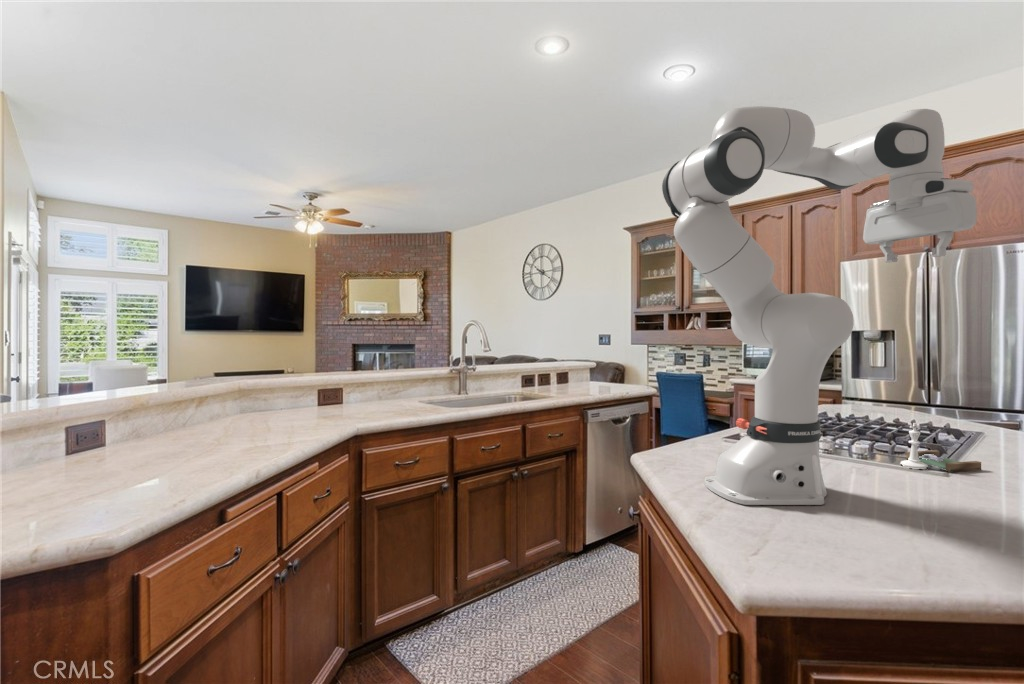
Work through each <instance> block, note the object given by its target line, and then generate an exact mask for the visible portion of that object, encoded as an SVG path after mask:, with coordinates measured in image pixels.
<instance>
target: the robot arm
mask: <svg viewBox="0 0 1024 684" xmlns="http://www.w3.org/2000/svg"><path fill="white" fill-rule="evenodd" d="M813 122H814V121H812V119H811V117H810V116H809V115H808V114H806V113H804V112H802V111H799V110H796V109H791V108H785V107H776V106H762V105H761V106H745V107H736V108H732V109H729V110H728V111H726V112H724V113H723V114H722V115H721V116H720V117H719V118H718V120H717V121H716V123H715V125H714V127H713V129H712V132H711V139H710V142H708V143H707V144H704V145H703V146H701V147H698V148H696V149H694V150H692V151H691V152H689V153H688V154H687V155H685V156H684V157H682V159H680V160H679V161H677V162H676V163H674V164H673V165H672V166H671V167H670V168H669V169H668V170H667V173H666V174H665V176H664V178H663V180H662V184H661V190H662V196H663V198H664V200H665V203H666V204H667V205H668V207H669V209H670V212H671V213H670V214H671V215H672V216H673V217H675V218H676V221H675V224H674V227H673V236H674V238H675V240H676V242H677V244H678V246H679V247H680V248H681V250H682V252H683V254H684V255H685V256H686V257H687V259H688V261H689V262H690V263H691V264H692V266H693V268H695V269H696V270H697V271H698V272H699V273H700V274H701V275H702V277H703V278H704V279H705V280H706V281H707V282H708V283H709V284H710V285H711V287H712V288H713V289H714V290H715V291H716V292H717V294H718V295H720V297H721V298H722V299H723V301H724V303H725V304H726V306H727V307H728V309H729V312H730V313H731V318H730V327H731V330H732V333H733V334H734V336H735V337H736V338H737V339H738V340H739V341H741V342H743V343H746V344H747V345H750V346H753V347H756V348H760V349H772V352H771V356H770V359H769V362H768V365H767V366H766V368H765V370H763V371H762V372H760V373H759V374H758V375H757V376H756V378H755V380H754V414H753V416H752V417H751V420H750V421H749V420H748V419H745V418H741V417H739V418H737V420H736V421H735V426H736V428H739V429H742V430H746V432H745V433H746V434H745V435H744V436H743V437H742V438H741V439H739V440H738V441H736V442H735V443H734V444H733V445H731V446H730V447H729V448H728V449H726V450H725V451H723V452H722V453H720V455H719V457H718V459H717V462H716V469H715V474H714V475H708V476H705V477H704V480H703V484H704V486H705V487H706V488H707V489H708V490H710V491H711V492H712V493H714V494H716V495H718V496H720V497H721V498H724V499H726V500H729V501H730V502H733V503H737V504H740V505H745V506H762V505H763V506H769V505H770V506H772V505H773V506H783V505H784V506H785V505H787V506H792V505H793V506H796V505H797V506H799V505H800V506H801V505H802V506H803V505H805V506H811V505H812V506H814V505H815V506H819V505H820V506H821V505H824V504H825V497H826V496H827V495H828V492H827V489H826V486H825V482H824V479H823V474H822V466H821V460H820V452H819V450H820V449H819V442H820V440H821V421H820V420H819V419H818V418H819V394H820V393H819V392H820V391H819V390H820V382H821V378H822V374H823V372H824V369H825V367H826V365H827V363H828V362H829V361H828V360H829V359H830V357H831V355H833V353H834V352H835V351H836V350H837V349H839V347H841V346H842V345H843V344H845V343H846V342H847V340H849V338H850V336H851V334H852V332H853V329H854V323H855V322H854V321H855V320H854V315H853V311H852V309H851V307H850V305H849V304H848V303H847V302H846V301H845V300H844V299H843V298H840V297H838V296H836V295H835V296H834V295H831V294H830V295H829V294H826V293H819V292H802V293H789V294H788V293H785V292H783V291H781V290H780V289H778V288H777V286H776V285H775V282H774V281H773V279H772V278H774V274H775V267H776V266H775V262H774V259H772V257H770V256H769V254H768V253H767V252H766V251H765V250H764V249H763V247H762V246H761V245H760V244H759V242H757V241H756V239H755V238H754V237H753V236H752V235H751V234H750V233H749V232H748V230H747V229H745V228H744V227H743V226H742V224H741V223H740V222H738V221H737V220H736V218H735V217H734V215H733V213H732V210H731V208H730V204H729V200H730V199H732V198H734V197H736V196H739V195H741V194H744V193H745V192H747V191H748V190H750V189H751V188H752V187H753V186H754V185H756V183H758V181H759V180H760V178H761V177H762V175H763V173H764V170H770V171H775V172H777V173H781V174H786V175H790V176H795V177H801V178H807V179H811V180H814V181H817V182H819V183H821V184H823V185H824V186H825V187H827V188H829V189H831V190H836V191H843V190H845V189H848V188H850V187H853V186H856V185H857V184H860V183H863V182H867V181H869V180H872V179H876V178H879V177H881V176H885V175H889V179H888V199H885V200H882V201H877V202H874V203H872V204H871V205H870V207H869V208H868V209H867V210H866V213H865V214H866V217H865V221H864V226H863V234H862V239H863V242H864V243H865V244H866V245H879V249H880V250H881V251H882V253H883V255H884V262H885V263H896V262H898V257H899V256H898V253H894V251H893V250H892V247H894V242H898V241H904V240H911V239H916V238H917V239H918V238H923V237H930V236H936V235H937V239H939V241H938V243H937V244H936V246H935V247H931V252H932V253H931V257H932V258H939V257H946V256H947V247H948V246H949V245H950V243H951V241H952V240H953V239H954V233H955V232H963V231H967V230H972V229H973V227H975V225H976V223H977V221H978V209H977V199H976V196H974V194H972V193H971V192H972V191H973V189H974V182H973V181H972V180H967V179H966V180H965V179H956V178H955V179H953V178H945V173H944V169H943V165H942V161H943V157H944V155H945V145H946V144H945V142H946V141H945V127H944V123H943V119H942V117H941V114H940V112H938V111H936V110H934V109H929V108H919V109H918V108H917V109H912V110H909V111H905V112H902V113H900V114H899V115H897V116H896V117H895V119H893V120H892V121H890V122H887V123H885V124H882V125H879V126H877V127H875V128H872V129H870V130H867V131H865V132H863V133H861V134H859V135H856V136H853V137H851V138H849V139H847V140H844V141H842V142H839V143H835V144H833V145H830V146H827V147H823V148H821V147H817V146H814V143H815V140H816V129H815V125H814V123H813Z"/></svg>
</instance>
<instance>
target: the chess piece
mask: <svg viewBox="0 0 1024 684" xmlns="http://www.w3.org/2000/svg"><path fill="white" fill-rule="evenodd" d="M909 428H910V429H912V430H909V431H908V433H909V436H910V439H911V440H908V443H909V444H911V447H910V451H909V452H910V457H909V458H908V460H906V459H905V460H900V463H899V464H902V465H903V466H908V467H914V468H926V467H928V468H929V466H928V465H927V464H925V463H922V462H920V461H921V460H919V457H918V451H919V450H918V445H920V444H921V442H920V441H919V440H918V439H919V437H920V435H921V432H920V431H918V430H917V429H921V428H920V425H917V423H916V422H913V423H912V425H909Z"/></svg>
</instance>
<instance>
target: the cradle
mask: <svg viewBox="0 0 1024 684" xmlns="http://www.w3.org/2000/svg"><path fill="white" fill-rule="evenodd" d="M910 452H911V451H906V456H905V458H906V457H907V458H909V457H910ZM924 454H934V455H937V456H940V451H939V450H937V449H933V450H918V457H919V456H922V455H924ZM919 460H921V461H920V462H923V463H927V464H930V465H934V466H938V467H941V468H943V469H946V470H947V471H948V472H947V471H946V472H947V473H960V472H961V473H963V472H978V471H982V461H978V460H971V461H960V460H959V461H958V460H954V459H950V458H947V457H944V459H943V461H941V462H940V461H939V462H937V461H935V460H934V461H933V460H929V459H927V460H926V459H922V458H919Z"/></svg>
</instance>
